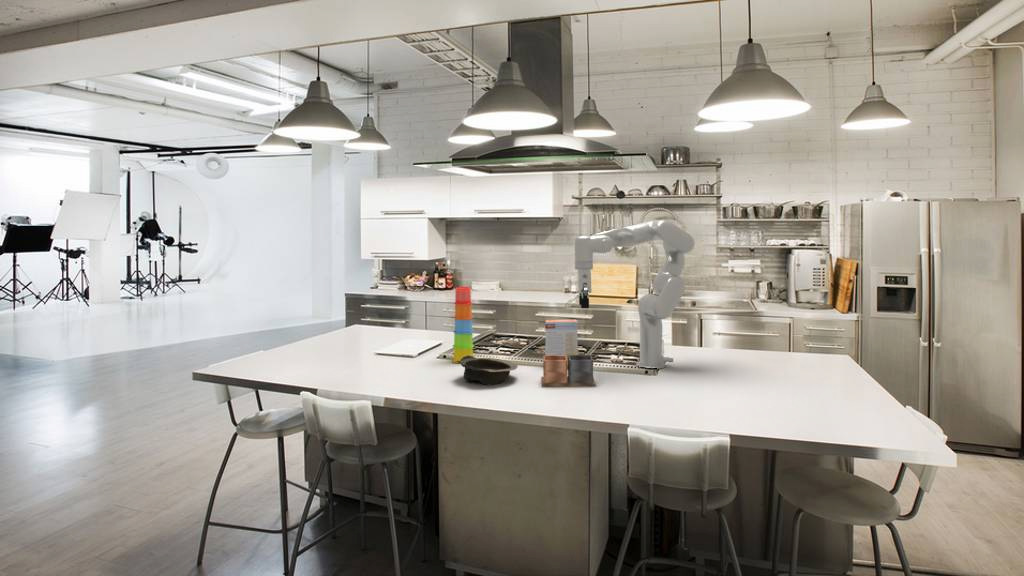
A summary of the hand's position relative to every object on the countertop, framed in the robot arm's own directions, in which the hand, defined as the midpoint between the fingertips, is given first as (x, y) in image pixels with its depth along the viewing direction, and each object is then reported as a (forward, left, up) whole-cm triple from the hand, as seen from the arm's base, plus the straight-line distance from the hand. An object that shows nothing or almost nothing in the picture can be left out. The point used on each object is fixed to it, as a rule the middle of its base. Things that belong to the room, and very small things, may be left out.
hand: (584, 306), depth 255 cm
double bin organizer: (+8, +16, -28) cm, 33 cm away
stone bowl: (+40, +10, -29) cm, 50 cm away
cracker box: (+9, -10, -28) cm, 32 cm away
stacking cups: (+54, -23, -28) cm, 65 cm away
